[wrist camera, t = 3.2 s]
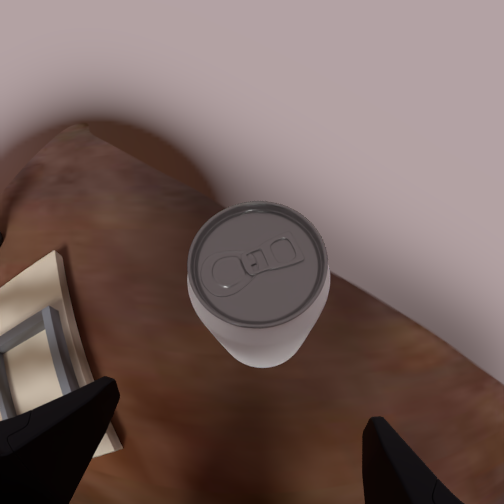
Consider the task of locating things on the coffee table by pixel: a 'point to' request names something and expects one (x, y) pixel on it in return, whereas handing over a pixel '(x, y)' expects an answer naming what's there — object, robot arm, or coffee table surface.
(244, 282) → the can
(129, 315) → the coffee table surface
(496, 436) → the coffee table surface
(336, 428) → the coffee table surface
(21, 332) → the collar board
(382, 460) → the robot arm
